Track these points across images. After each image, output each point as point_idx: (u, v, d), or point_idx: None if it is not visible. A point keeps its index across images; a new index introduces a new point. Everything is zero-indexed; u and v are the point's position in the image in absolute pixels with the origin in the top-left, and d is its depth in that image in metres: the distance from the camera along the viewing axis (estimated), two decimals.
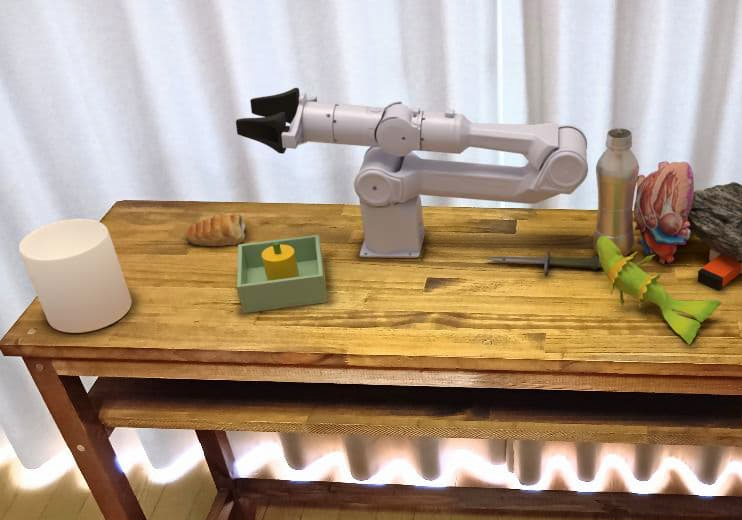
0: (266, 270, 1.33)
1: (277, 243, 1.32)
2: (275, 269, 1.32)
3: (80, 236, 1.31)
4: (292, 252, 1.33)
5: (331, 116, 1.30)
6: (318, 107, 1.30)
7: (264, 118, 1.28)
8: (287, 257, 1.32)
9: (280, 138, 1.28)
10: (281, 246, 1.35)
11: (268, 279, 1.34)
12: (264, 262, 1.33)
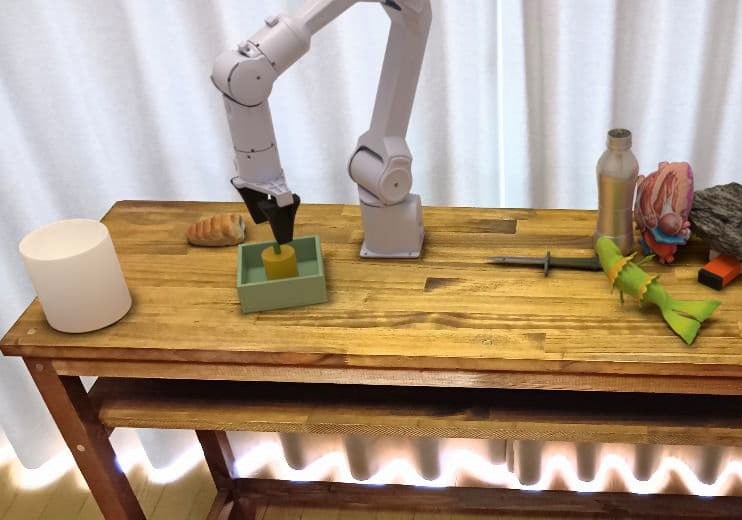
0: (266, 270, 1.33)
1: (277, 243, 1.32)
2: (275, 269, 1.32)
3: (80, 236, 1.31)
4: (292, 252, 1.33)
5: (248, 154, 1.20)
6: (243, 167, 1.22)
7: (269, 220, 1.25)
8: (287, 257, 1.32)
9: None
10: (281, 246, 1.35)
11: (268, 279, 1.34)
12: (264, 262, 1.33)
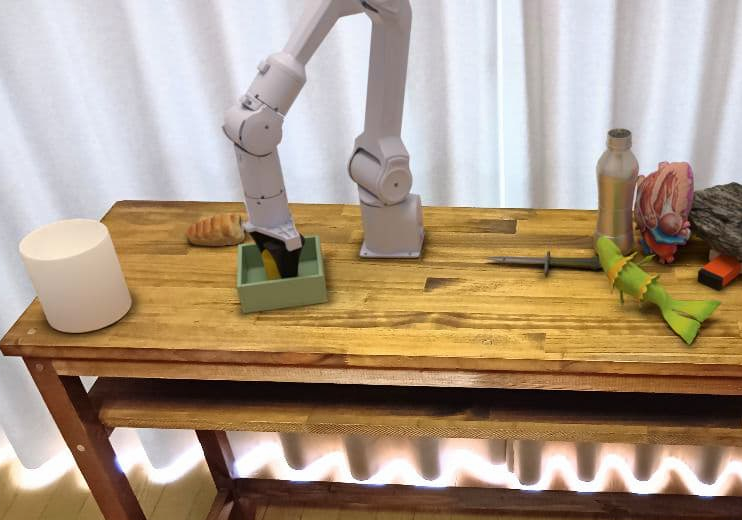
0: (266, 270, 1.33)
1: None
2: (275, 270, 1.32)
3: (80, 236, 1.31)
4: None
5: (258, 200, 1.25)
6: (253, 212, 1.26)
7: (275, 260, 1.30)
8: None
9: None
10: None
11: (268, 279, 1.34)
12: (264, 262, 1.33)
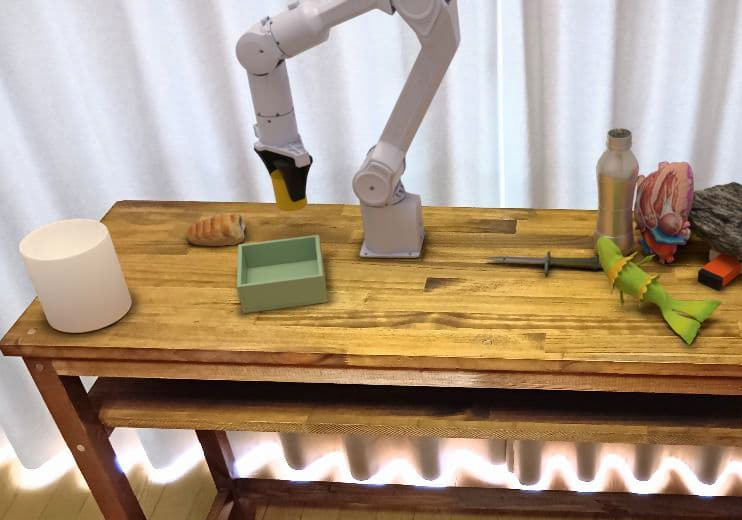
0: (275, 190, 1.40)
1: None
2: (284, 189, 1.39)
3: (80, 236, 1.31)
4: None
5: (268, 118, 1.31)
6: (263, 131, 1.33)
7: (284, 178, 1.36)
8: None
9: None
10: None
11: (277, 200, 1.41)
12: (273, 182, 1.39)
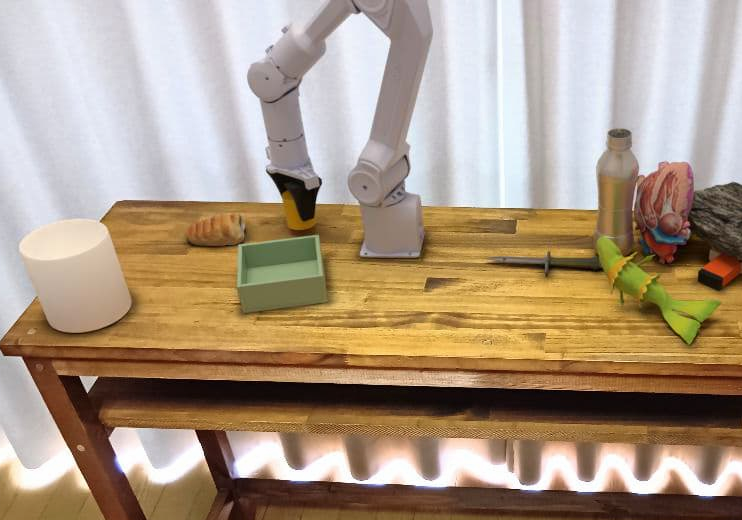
0: (286, 210, 1.46)
1: None
2: (294, 209, 1.45)
3: (80, 236, 1.31)
4: None
5: (280, 143, 1.38)
6: (275, 154, 1.39)
7: (294, 199, 1.43)
8: None
9: None
10: None
11: (287, 219, 1.47)
12: (284, 203, 1.45)
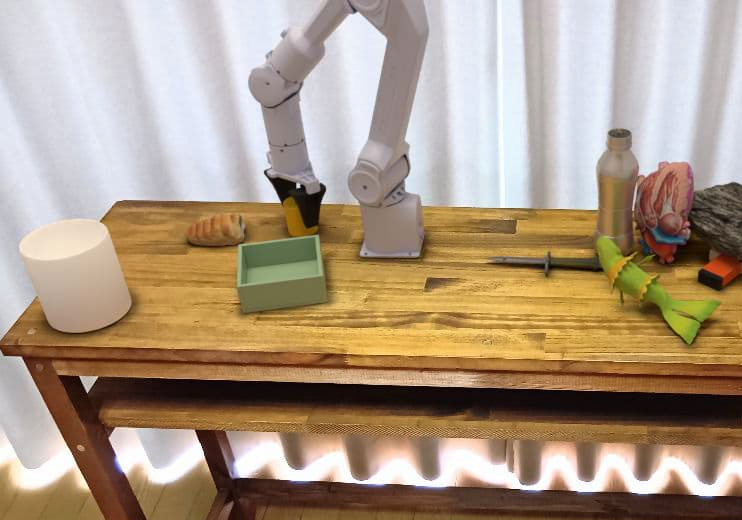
0: (287, 218, 1.47)
1: None
2: (295, 217, 1.46)
3: (80, 236, 1.31)
4: None
5: (281, 148, 1.38)
6: (276, 159, 1.40)
7: (298, 206, 1.42)
8: None
9: (312, 192, 1.41)
10: None
11: (289, 226, 1.48)
12: (285, 210, 1.46)
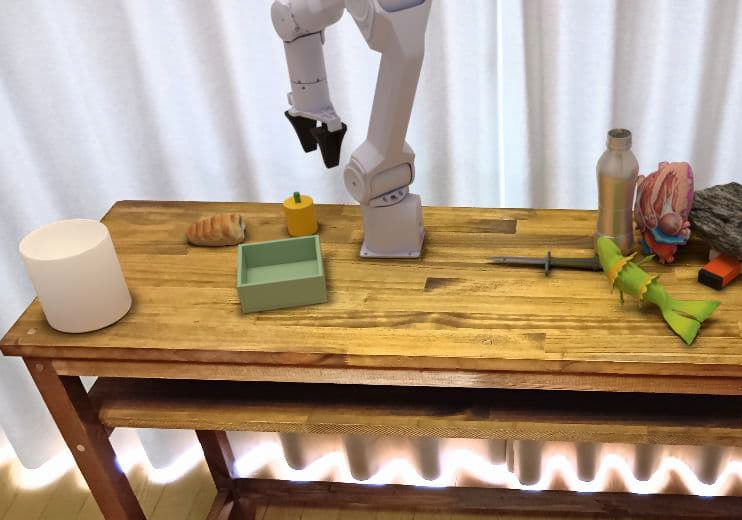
0: (287, 218, 1.47)
1: (297, 193, 1.46)
2: (295, 217, 1.46)
3: (80, 236, 1.31)
4: (311, 201, 1.47)
5: (303, 85, 1.39)
6: (298, 97, 1.40)
7: (319, 145, 1.43)
8: (306, 205, 1.46)
9: (334, 131, 1.41)
10: (301, 196, 1.48)
11: (289, 226, 1.48)
12: (285, 210, 1.46)
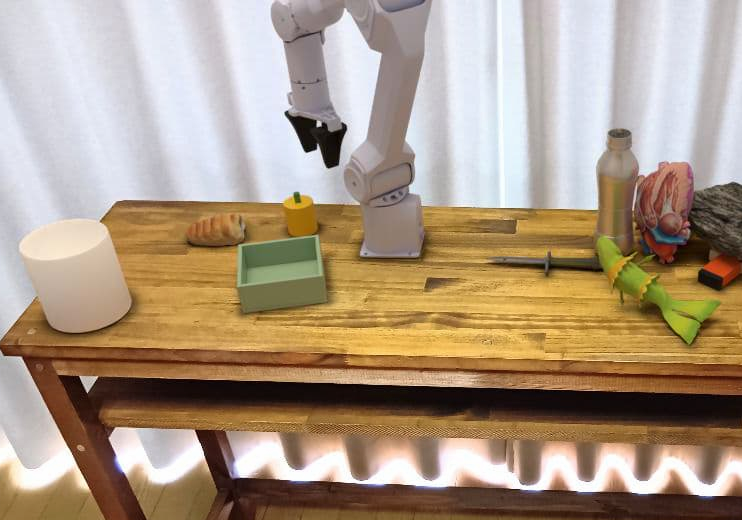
0: (287, 218, 1.47)
1: (297, 193, 1.46)
2: (295, 217, 1.46)
3: (80, 236, 1.31)
4: (311, 201, 1.47)
5: (303, 85, 1.39)
6: (298, 97, 1.40)
7: (319, 145, 1.43)
8: (306, 205, 1.46)
9: (334, 131, 1.41)
10: (301, 196, 1.48)
11: (289, 226, 1.48)
12: (285, 210, 1.46)
